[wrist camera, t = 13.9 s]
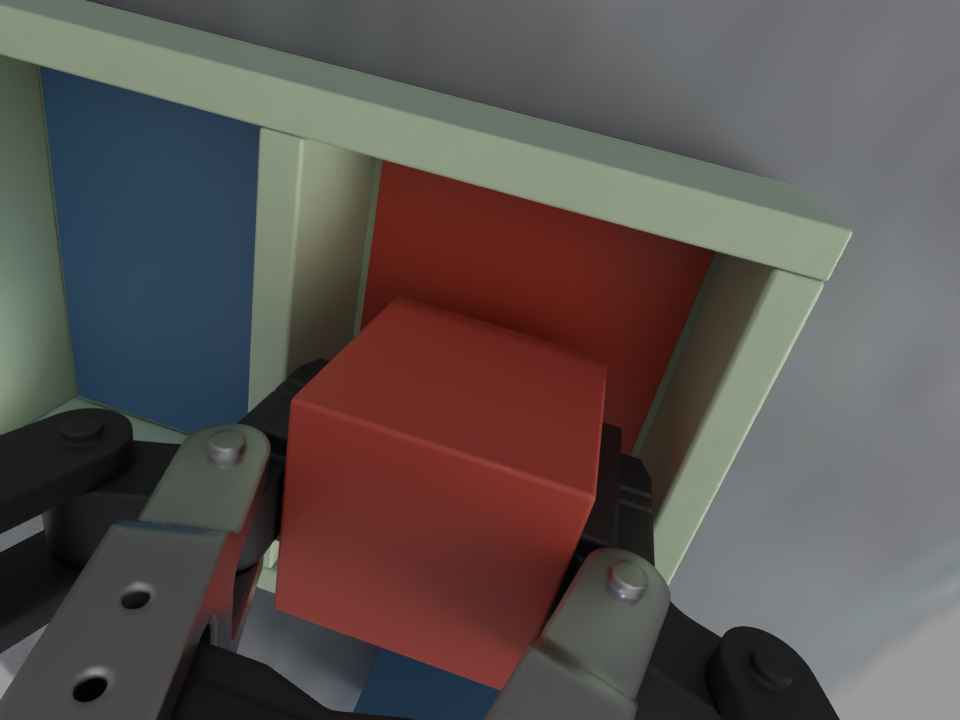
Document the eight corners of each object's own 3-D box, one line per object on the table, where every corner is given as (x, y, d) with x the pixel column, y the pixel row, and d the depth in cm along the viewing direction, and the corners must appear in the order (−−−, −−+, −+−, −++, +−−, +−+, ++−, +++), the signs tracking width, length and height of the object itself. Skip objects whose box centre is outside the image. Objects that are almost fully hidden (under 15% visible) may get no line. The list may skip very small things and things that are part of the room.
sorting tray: (70, 401, 19) (-56, 476, 16) (18, -18, 14) (-191, -47, 10) (609, 583, 18) (603, 713, 14) (791, 184, 12) (855, 230, 9)
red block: (369, 463, 14) (271, 610, 10) (396, 294, 12) (289, 398, 8) (548, 522, 14) (516, 699, 10) (609, 356, 12) (597, 498, 8)
